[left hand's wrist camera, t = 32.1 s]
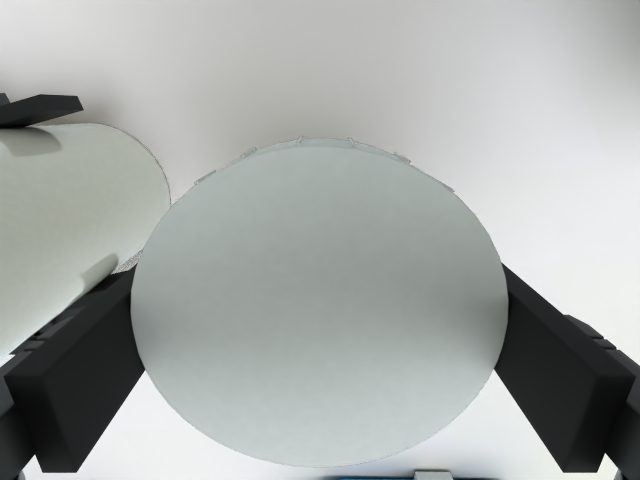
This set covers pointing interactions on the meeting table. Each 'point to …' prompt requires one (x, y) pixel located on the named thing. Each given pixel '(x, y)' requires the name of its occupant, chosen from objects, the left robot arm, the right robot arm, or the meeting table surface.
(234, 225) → the lid
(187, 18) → the meeting table surface
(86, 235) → the jar
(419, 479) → the logo
